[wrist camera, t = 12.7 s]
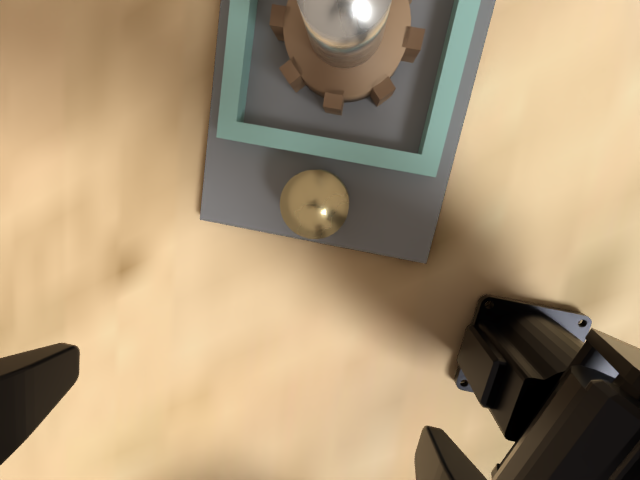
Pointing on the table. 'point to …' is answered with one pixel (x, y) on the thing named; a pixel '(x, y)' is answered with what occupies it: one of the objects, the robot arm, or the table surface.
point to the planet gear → (345, 47)
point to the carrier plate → (339, 136)
